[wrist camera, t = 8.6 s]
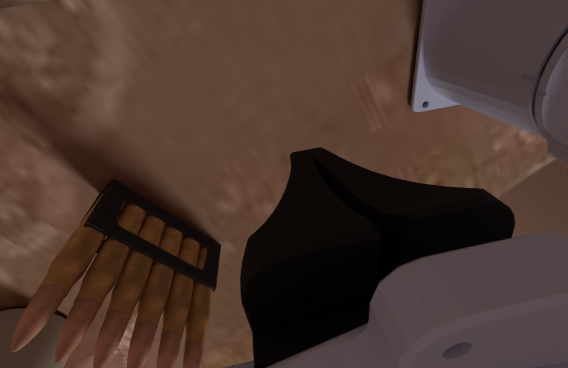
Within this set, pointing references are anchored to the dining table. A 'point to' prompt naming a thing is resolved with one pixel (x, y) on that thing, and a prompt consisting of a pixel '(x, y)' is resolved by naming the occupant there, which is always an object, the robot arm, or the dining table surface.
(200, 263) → the ammunition clip
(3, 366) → the travel mug
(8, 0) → the subfloor panel
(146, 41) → the dining table surface
